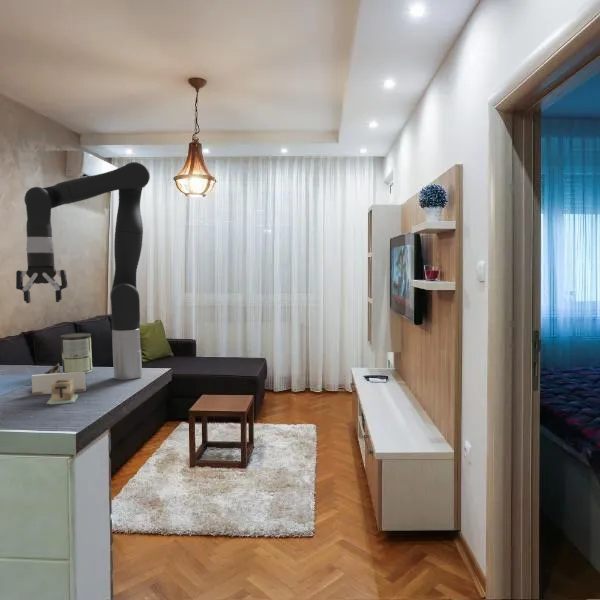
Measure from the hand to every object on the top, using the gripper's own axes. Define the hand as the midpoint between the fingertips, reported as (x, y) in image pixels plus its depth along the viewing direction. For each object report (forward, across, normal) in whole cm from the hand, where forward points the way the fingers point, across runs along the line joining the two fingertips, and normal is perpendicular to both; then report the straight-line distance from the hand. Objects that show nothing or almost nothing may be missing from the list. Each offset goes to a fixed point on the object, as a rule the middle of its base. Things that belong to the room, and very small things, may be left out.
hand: (43, 302), depth 150 cm
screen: (+28, -5, +7) cm, 29 cm away
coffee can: (+28, -5, -23) cm, 37 cm away
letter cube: (+27, -8, +17) cm, 33 cm away
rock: (+28, 0, -1) cm, 28 cm away
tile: (+28, -8, +17) cm, 34 cm away
